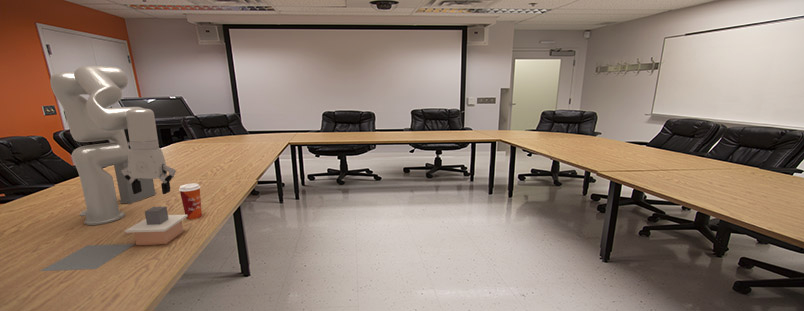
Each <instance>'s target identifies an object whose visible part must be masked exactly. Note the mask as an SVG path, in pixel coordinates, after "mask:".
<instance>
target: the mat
mask: <svg viewBox="0 0 804 311" xmlns="http://www.w3.org/2000/svg"><path fill="white" fill-rule="evenodd" d="M135 245H136V243H123V244H122V243H121V244H118V243H117V244H87V245H85V246H83V247H82V248H79V249H78V250H76V251H74V252H72V253H70V254H68V255H67V256H65V257H63V258H61V259H59V260H57V261H55V262H53V263H52V264H50V265H48V266H47V267H44V268H43V269H40V270H39V272H51V271H53V272H54V271H55V272H56V271H73V270H75V271H76V270H80V271H81V270H97V269H98V268H100V267H102V266H103V265H105V264H106V263H108V262H109V261H111V260H113V259H115V257H117V256H119V255H120V254H122V253H123V252H125V251H127V250H128V249H130V248H131V247H133V246H135Z"/></svg>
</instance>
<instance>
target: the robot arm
mask: <svg viewBox="0 0 804 311" xmlns="http://www.w3.org/2000/svg"><path fill="white" fill-rule="evenodd" d="M49 82H50V87H51V90H52V93H53V95H54V96H55V97H56V100H57V101H58V102H59V103H60V105H61V107H62V108H63V111H64V114H65V118H66V121H67V124H68V125H67V126H68V129H69V131H70V135H71V137H72V138H73V140H74V141H76V142H78V143H89V142H91V143H92V142H99V141H106V140H107V141H109V142H105V143H98V144H88V145H83V146H79V147H77V148H75V149H74V150H73V151H72V153H71V158H72V162H73V163H74V166H75V168H76V170H77V173H78V176H79V180H80V184H81V189H82V192H83V197H84V202H85V207H86V209H83V210H81V212H79V217H85V219H84V221H83V222H84V225H87V226H95V225H96V226H97V225H99V226H100V225H104V224H108V223H113V222H115V221H118V220H120V219H122V218H124V217H125V215H126V213H125V212H124V211H121V210H120V209H119V208H120V207H119V204H118V198H117V192H116V186H115V182H114V179H113V176H112V174H111V173H109V172H108V171H106V170H105V169H103V168H106V167H111V166H114V165H118V164H123V163H126V162H128V167H127V168H125V169H123V170H121V172H122V173H123V175H124V176H125V178H126V179H127V180H129V183H131V184H132V190H133V194H137V193H139V192H141V191H142V188H141V182H140V181H138V180H139V179H153V180H156V179H159V181H160V182H162V183H161V184H160V187H161V192H162V194H163V195H167V194H168V193H170V192H171V183H170V182H171V181H172V179H174V177H175V174H176V172H177V171H176V169H174V168H173V167H170V166H168V165H167V164H166V159H165V156H164V153H163V150H162V148H160V147H159V146H160V144H159V139H158V132H157V131H158V130H157V125H156V118H155V113H154V111H153V110H152V109H150V108H144V107H141V106H121V107H119V106H118V107H111V106H113V105H115V104H116V103H118V102H119V101H120V100H121V99H122V96H123V92H122V90H124V89H126V87H127V86H128V83H129V79H128V76H127V74H126V72H124V70H123V69H121V68H120V67H118V66H107V65H106V66H105V65H83V66H79V67H77V68H76V69H75V71H64V72H63V71H62V72H56V73H54V74H52V75H51V76H50V79H49ZM84 95H86V96H87V95H88V96H89V97H88V98H87V99H86V98H85V97H83V96H84ZM125 130H127V132H128V139H129V141H128V140H127V136H126V132H125ZM129 146H130V148H129ZM129 149H131V150H129ZM167 173H168V175H167Z"/></svg>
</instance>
